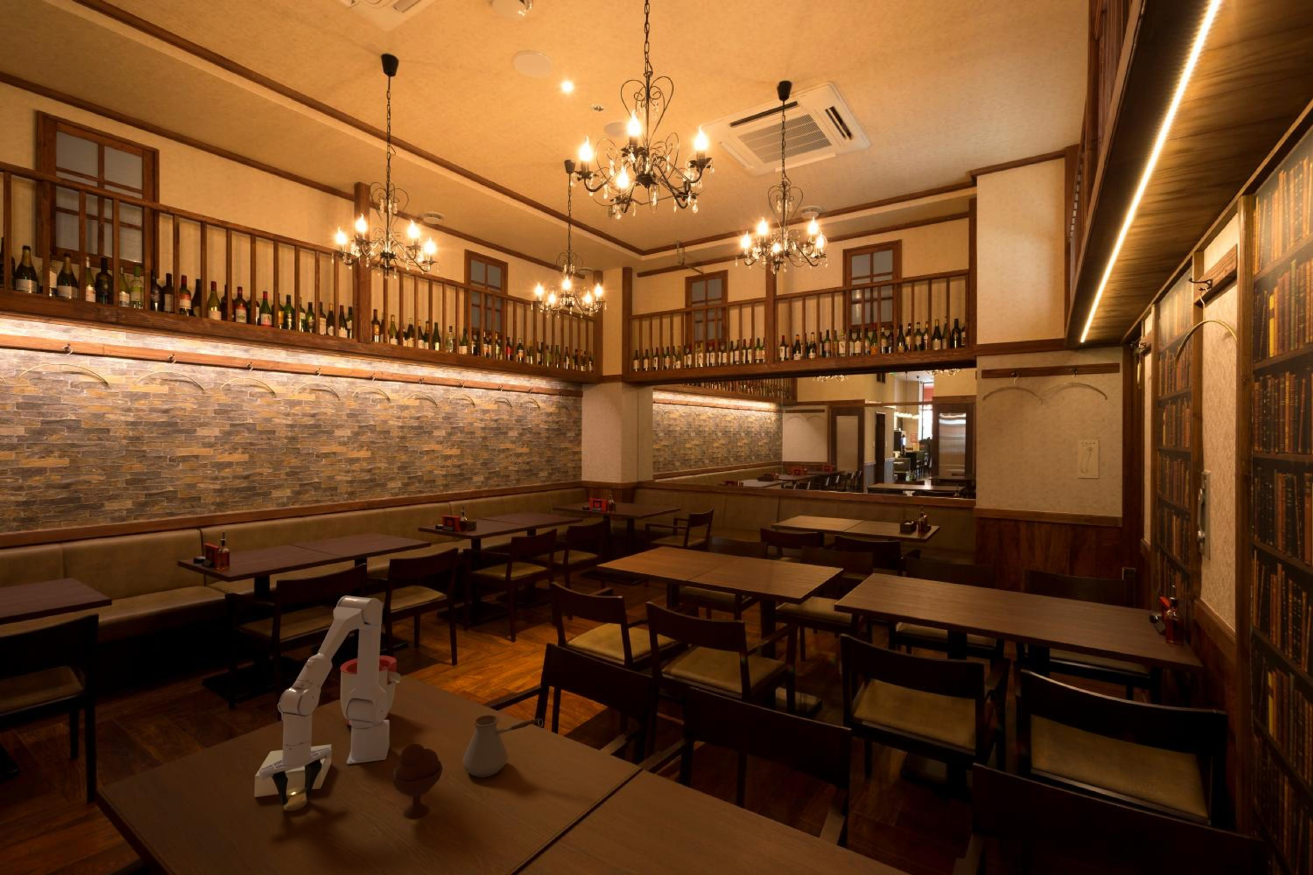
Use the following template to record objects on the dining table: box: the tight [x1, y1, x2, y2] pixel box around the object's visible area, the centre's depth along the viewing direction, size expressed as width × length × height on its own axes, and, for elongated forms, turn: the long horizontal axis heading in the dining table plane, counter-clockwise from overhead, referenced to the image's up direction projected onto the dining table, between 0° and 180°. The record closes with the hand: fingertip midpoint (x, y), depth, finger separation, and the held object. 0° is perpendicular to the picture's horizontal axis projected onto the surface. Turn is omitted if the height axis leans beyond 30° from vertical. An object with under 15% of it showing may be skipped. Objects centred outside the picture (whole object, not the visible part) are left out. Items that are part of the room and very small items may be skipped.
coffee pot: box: [462, 714, 544, 778], centre depth 157 cm, size 21×12×15 cm, turn 78°
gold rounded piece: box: [283, 787, 308, 812], centre depth 140 cm, size 4×4×3 cm
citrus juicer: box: [339, 655, 402, 727], centre depth 185 cm, size 16×17×20 cm
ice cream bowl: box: [391, 743, 443, 819], centre depth 139 cm, size 11×11×15 cm
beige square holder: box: [253, 744, 332, 798], centre depth 151 cm, size 14×12×5 cm
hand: (295, 798), depth 140 cm, fingers closed on gold rounded piece, 4 cm apart
